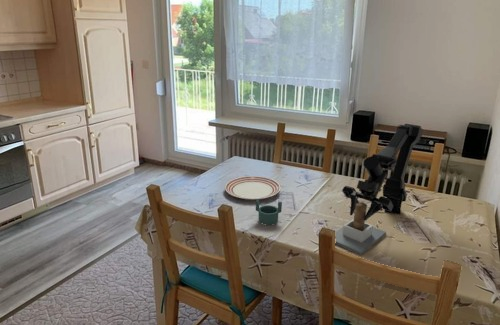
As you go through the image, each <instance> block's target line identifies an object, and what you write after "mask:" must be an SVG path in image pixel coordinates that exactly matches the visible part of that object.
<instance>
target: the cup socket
mask: <svg viewBox="0 0 500 325" xmlns="http://www.w3.org/2000/svg"><path fill="white" fill-rule="evenodd" d="M353 221H354V218H352V219H351V220H349V221H348V222H347V223H345V224H343V226H342V227H340V228H339V229H338V230H336V231H335V232H334V233H336V244H335V245H337V246H338V247H339V246H340V247H342V248H344V249H345V250H349V251H350V252H353V253H355V254H358V255H359V256H362V255H363V254H364V253H366V252H367V251H368V250H369V249H371V247H373V246H374V245H375V244H377V242H379V241H380V240H382V239H383V238H384V237H385V236H386V235H387V231H385V230H383V229H380V228H377V227H374V225H373V224H372V223H371V224H370V223H368V222H365V223H364V230H363V231H360V230H357V229H354V228H353Z"/></svg>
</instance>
